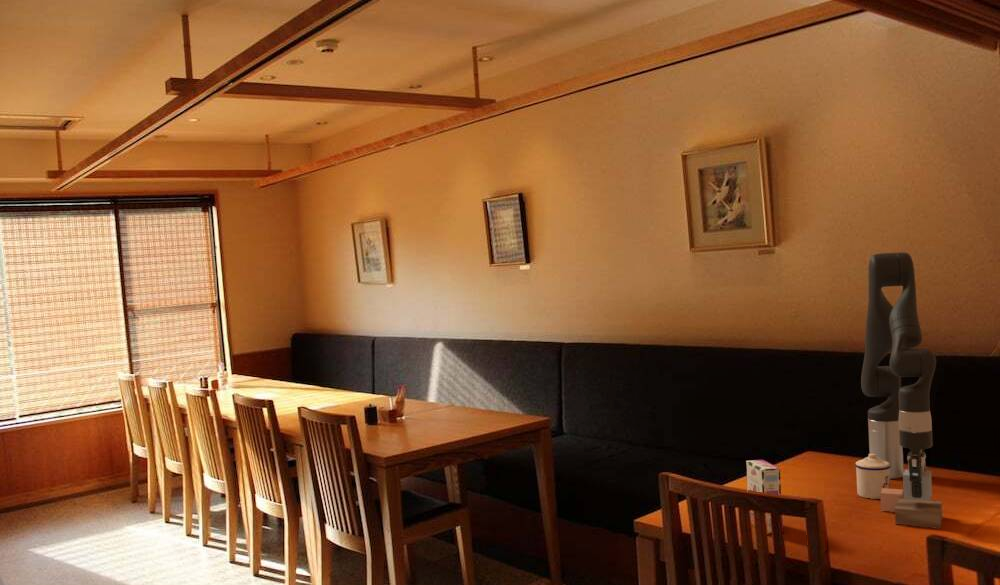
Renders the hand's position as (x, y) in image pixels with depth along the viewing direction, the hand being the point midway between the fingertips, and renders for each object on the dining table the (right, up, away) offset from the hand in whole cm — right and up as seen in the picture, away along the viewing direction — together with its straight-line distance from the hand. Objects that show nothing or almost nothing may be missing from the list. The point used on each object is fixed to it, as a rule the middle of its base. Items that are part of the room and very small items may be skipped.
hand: (918, 493), depth 219 cm
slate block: (0, -1, 0) cm, 1 cm away
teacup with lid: (0, -6, +26) cm, 27 cm away
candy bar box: (-38, -9, +2) cm, 39 cm away
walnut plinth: (0, -7, 0) cm, 7 cm away
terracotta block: (-2, -7, +11) cm, 13 cm away
